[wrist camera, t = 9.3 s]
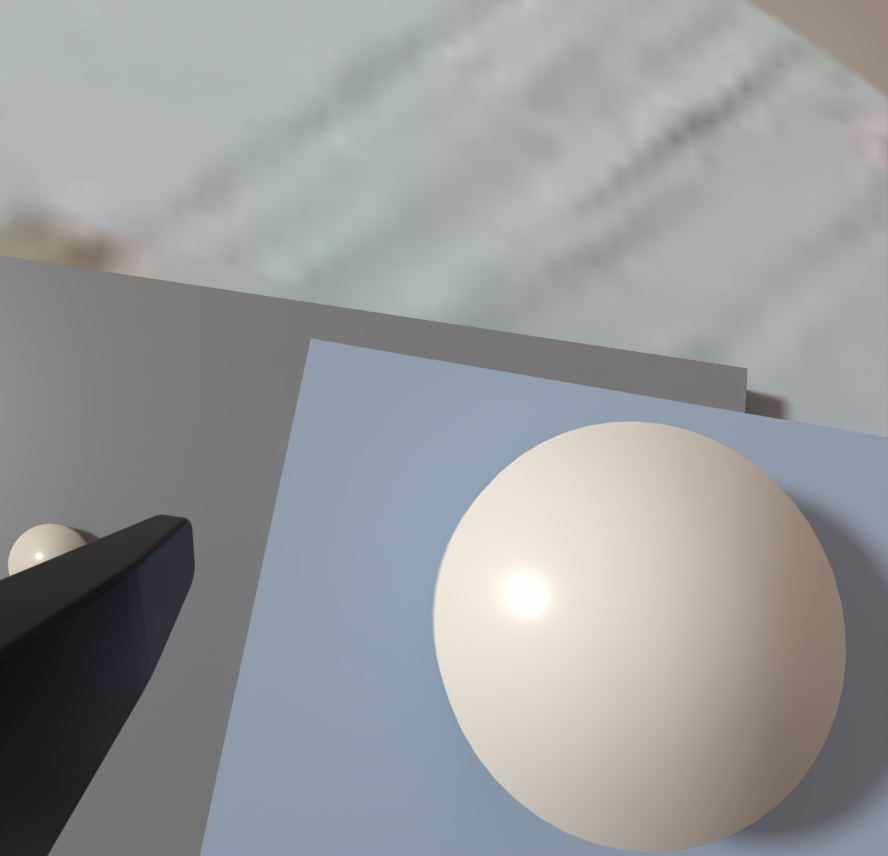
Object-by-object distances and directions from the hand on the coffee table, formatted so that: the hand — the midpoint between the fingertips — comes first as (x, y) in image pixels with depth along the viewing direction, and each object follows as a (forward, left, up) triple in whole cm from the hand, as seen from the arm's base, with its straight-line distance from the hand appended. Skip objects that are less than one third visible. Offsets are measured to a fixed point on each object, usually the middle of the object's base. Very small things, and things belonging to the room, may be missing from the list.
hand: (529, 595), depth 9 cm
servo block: (0, +1, -7) cm, 7 cm away
